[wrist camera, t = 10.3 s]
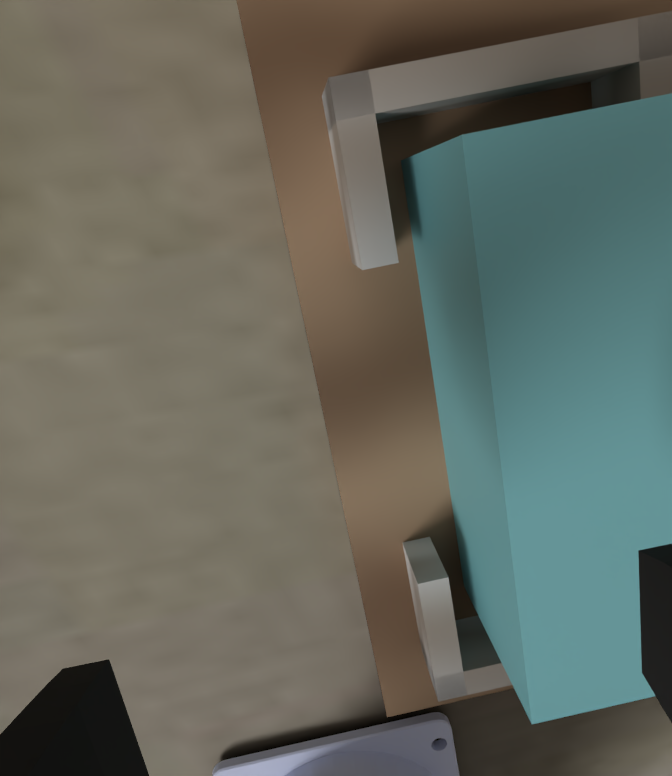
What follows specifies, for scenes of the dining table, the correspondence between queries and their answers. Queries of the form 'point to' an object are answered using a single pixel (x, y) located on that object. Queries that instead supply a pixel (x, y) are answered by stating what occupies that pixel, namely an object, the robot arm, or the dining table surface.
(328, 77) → the wooden bracket tray
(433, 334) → the teal rectangular block
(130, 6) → the dining table surface
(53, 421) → the dining table surface
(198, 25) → the dining table surface
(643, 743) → the dining table surface
